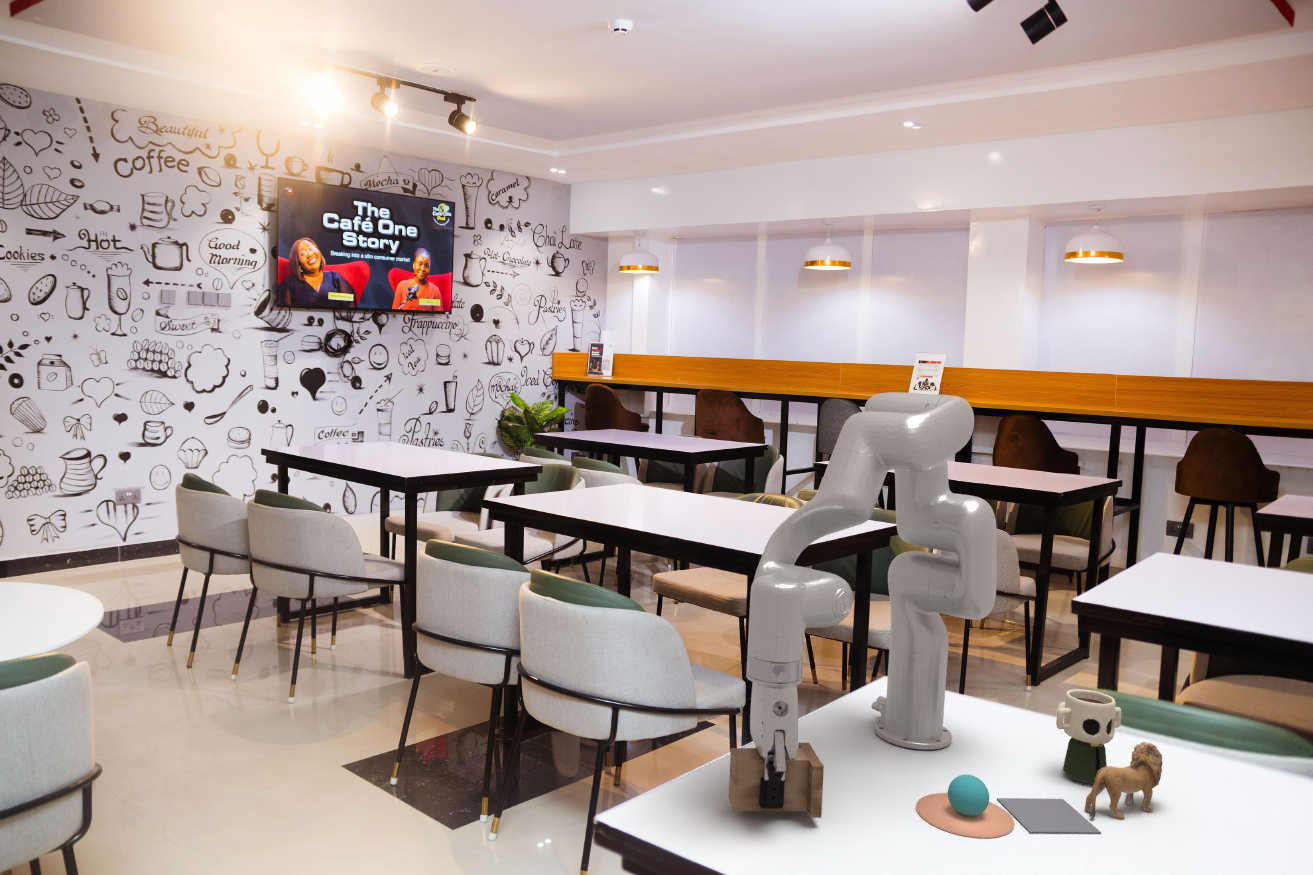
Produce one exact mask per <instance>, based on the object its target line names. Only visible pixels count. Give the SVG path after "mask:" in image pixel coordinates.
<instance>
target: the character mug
mask: <svg viewBox="0 0 1313 875" xmlns="http://www.w3.org/2000/svg"><path fill="white" fill-rule="evenodd" d="M1116 705H1117V704H1116V699H1115V698H1114V697H1112V696H1111V695H1109V694H1105V693H1103V692H1100V691H1096V690H1091V689H1090V690H1089V689H1083V688H1082V689H1079V688H1075V689H1068V690H1067V691H1065V700H1064V707H1059V708H1058V709H1057V711H1056V721H1055V724H1056V725H1055V726H1056V728H1057V729H1058V730H1063V731H1064V733H1065V734H1066V735H1067V736H1069V737H1070V738H1069V740H1068V744H1067V748H1066V753H1065V757H1064V761H1063V767H1062V771H1064V773H1065V774H1066V775H1067V776H1069V777H1070V778H1071V779H1073V780H1076V781H1079V782H1081V783H1087V784H1092V785H1094V782H1095V778H1096V774H1097V772H1098V771H1099V770H1100V769H1101V768H1103V767H1107V766H1108V765H1107V753H1106V747H1105V744H1108V743H1110V742H1111V741H1112V740H1113V739H1114V737H1115V732H1116V729H1117V728H1120V727H1121V723H1122V722H1121V721H1122V708H1121V707H1119V706H1116Z"/></svg>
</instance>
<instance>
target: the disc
mask: <svg viewBox="0 0 1313 875" xmlns="http://www.w3.org/2000/svg"><path fill="white" fill-rule="evenodd" d="M915 807H916V808H915V810H916V812H917V814H918V815H919V816H920V818H922V819H923V820H924V821H925V822H926V823H928V824H929V825H931V826H933V827H935V828H936V829H938V830H939V829H940V830H942V831H944V832H947V833H950V834H954V835H958V836H960V837H961V836H962V837H965V838H974V839H995V838H1001V837H1004V836H1006V835H1007V836H1008V835H1009V834H1010V833H1011V832H1012V831H1013V830H1014V829H1015V821H1014V817H1013V816H1012V814H1011V813H1010V812H1009V811H1007V810H1005V809H1004V808H1002V807H1000V806H999V805H997V804H995V803H993V802H991V801H989V804H988V806H987V808H986V810H985V811H984V812H983V813H982V814H980V815H978V816H974V817H968V816H964V815H962V814H960V813H958V812H957V811H956V810H955V809H954V808H953V807H952V806H951V804H950V802H949V799H948V792H938V793H931V794H927V795H925V796H923V797H920V798H919V799H918V800H917V801H916V806H915Z"/></svg>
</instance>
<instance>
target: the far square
mask: <svg viewBox="0 0 1313 875" xmlns="http://www.w3.org/2000/svg"><path fill="white" fill-rule="evenodd" d="M996 800H997V801H998V802H999V804H1001V805H1002V806H1003V808H1005V809H1006V811H1007V812H1008V813H1009V814H1010V815H1011V816H1012V817H1013V818H1014V819H1015V820H1016V821H1017V822H1019V824H1020V825H1021V826H1022V827H1023V828H1024V829H1025V830H1026V831H1027V832H1028V833H1029V834H1070V835H1071V834H1073V835H1074V834H1077V835H1078V834H1079V835H1080V834H1081V835H1082V834H1084V835H1085V834H1087V835H1089V834H1093V835H1095V834H1096V835H1098V834H1099V835H1100V834H1102V832H1101V830H1099V829H1098V828H1097V827H1096V826H1095V825H1093V824H1092V823H1091V822H1090V821H1089V820H1088V819H1087V818H1086V817H1085V816H1083V815H1082V814H1081V813H1080V812H1079V811H1078V810H1076V809H1075V808H1074V807H1073V806H1072V805H1070V803H1068V802H1067V801H1066V800H1065V799H1064V798H1028V797H1027V798H1023V797H1022V798H1021V797H1019V798H1015V797H1014V798H1013V797H1011V798H1010V797H1009V798H1008V797H1005V798H1004V797H1003V798H1002V797H997V798H996Z"/></svg>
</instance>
